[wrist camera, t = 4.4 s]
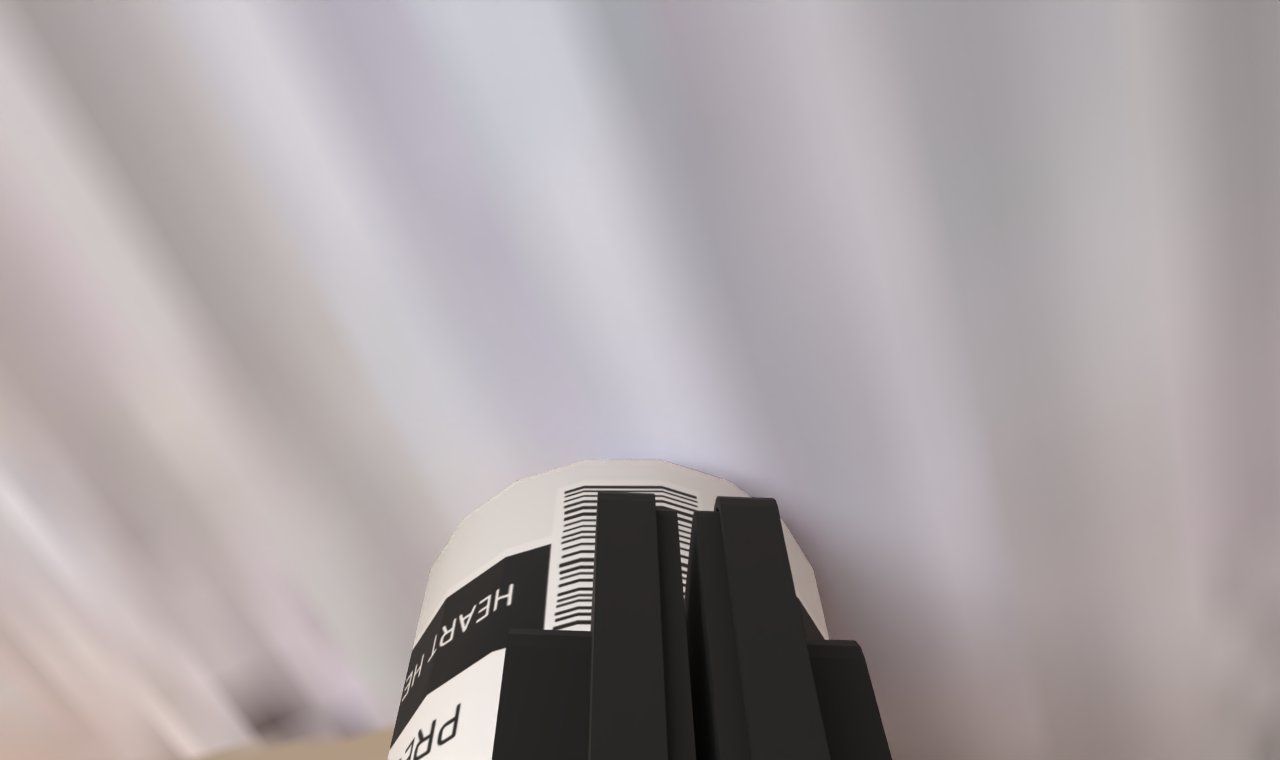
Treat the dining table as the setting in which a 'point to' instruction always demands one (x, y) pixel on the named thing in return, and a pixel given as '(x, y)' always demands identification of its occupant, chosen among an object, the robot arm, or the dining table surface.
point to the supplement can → (533, 592)
